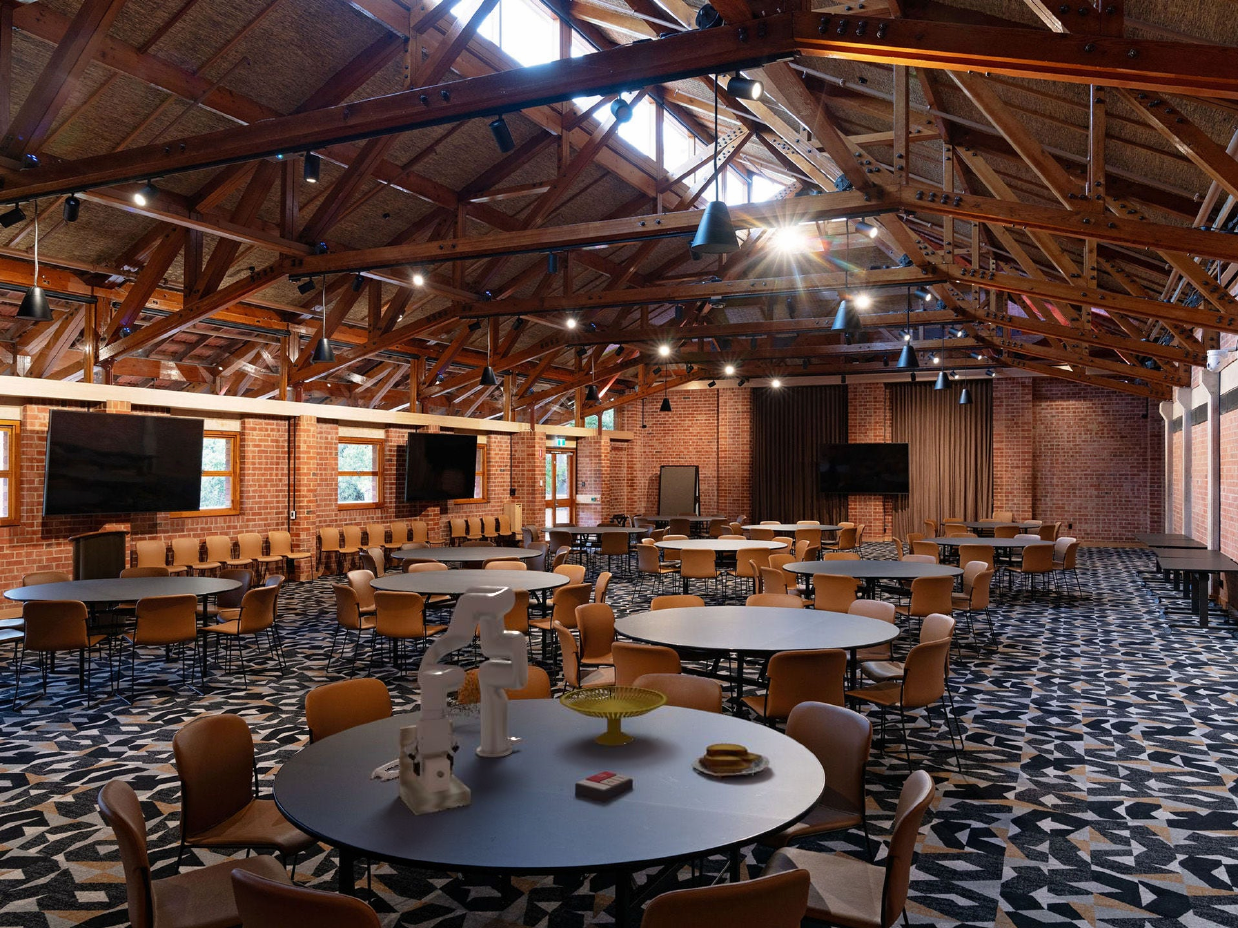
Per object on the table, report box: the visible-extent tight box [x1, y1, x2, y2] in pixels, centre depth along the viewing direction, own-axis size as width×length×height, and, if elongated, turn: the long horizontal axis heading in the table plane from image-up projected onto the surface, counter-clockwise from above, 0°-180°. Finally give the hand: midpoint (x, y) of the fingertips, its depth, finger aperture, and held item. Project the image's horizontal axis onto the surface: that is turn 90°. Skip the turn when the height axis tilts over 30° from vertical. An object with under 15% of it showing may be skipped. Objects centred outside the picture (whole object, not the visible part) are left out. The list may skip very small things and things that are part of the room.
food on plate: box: [691, 743, 771, 781], centre depth 263 cm, size 25×25×7 cm
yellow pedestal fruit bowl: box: [558, 685, 669, 746], centre depth 295 cm, size 40×40×15 cm
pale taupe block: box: [417, 752, 450, 793], centre depth 237 cm, size 6×13×8 cm, turn 30°
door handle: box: [370, 758, 399, 782], centre depth 265 cm, size 3×10×25 cm
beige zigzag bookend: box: [398, 719, 472, 816], centre depth 237 cm, size 16×18×20 cm
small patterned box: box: [574, 770, 634, 804], centre depth 243 cm, size 11×4×15 cm
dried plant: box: [447, 657, 535, 720], centre depth 317 cm, size 30×31×45 cm
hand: (433, 771), depth 238 cm, fingers open, 9 cm apart
